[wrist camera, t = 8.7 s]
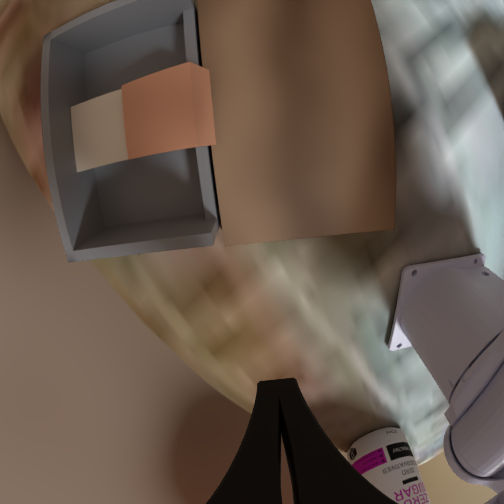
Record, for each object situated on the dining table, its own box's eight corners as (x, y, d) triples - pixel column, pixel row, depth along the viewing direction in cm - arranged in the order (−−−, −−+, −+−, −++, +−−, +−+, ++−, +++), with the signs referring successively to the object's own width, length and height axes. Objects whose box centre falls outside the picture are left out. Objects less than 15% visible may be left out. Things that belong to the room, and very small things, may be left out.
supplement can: (345, 459, 30) (364, 541, 16) (346, 437, 27) (371, 537, 13) (396, 442, 29) (423, 519, 15) (405, 416, 26) (442, 507, 12)
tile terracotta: (209, 70, 11) (189, 61, 10) (216, 144, 13) (197, 146, 11) (144, 88, 12) (121, 85, 11) (151, 155, 14) (128, 159, 12)
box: (198, 14, 12) (184, -20, 7) (221, 219, 17) (212, 245, 12) (81, 51, 12) (43, 36, 8) (103, 235, 17) (68, 262, 13)
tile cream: (143, 92, 13) (130, 86, 11) (149, 155, 15) (136, 157, 13) (87, 109, 13) (70, 107, 11) (93, 168, 15) (77, 172, 13)
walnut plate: (357, 6, 11) (368, -6, 9) (380, 220, 17) (394, 229, 15) (201, 7, 11) (196, -7, 10) (227, 234, 17) (224, 246, 15)
